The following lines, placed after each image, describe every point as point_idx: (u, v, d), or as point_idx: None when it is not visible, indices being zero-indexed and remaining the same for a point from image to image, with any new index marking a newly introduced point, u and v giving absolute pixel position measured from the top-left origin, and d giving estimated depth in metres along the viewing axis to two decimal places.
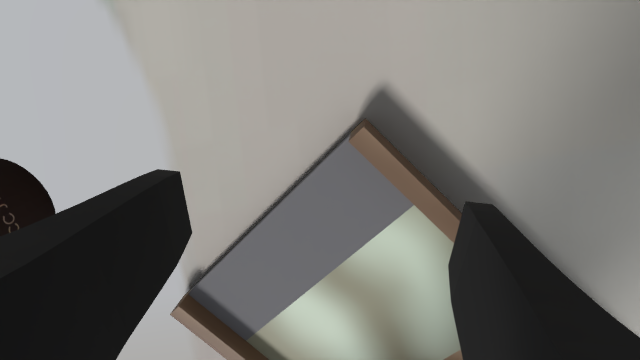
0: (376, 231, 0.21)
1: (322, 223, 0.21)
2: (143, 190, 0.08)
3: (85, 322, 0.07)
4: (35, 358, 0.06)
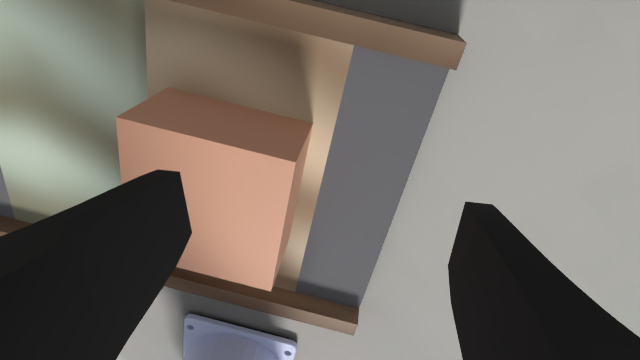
0: None
1: None
2: (143, 191, 0.08)
3: (85, 322, 0.07)
4: (35, 358, 0.06)
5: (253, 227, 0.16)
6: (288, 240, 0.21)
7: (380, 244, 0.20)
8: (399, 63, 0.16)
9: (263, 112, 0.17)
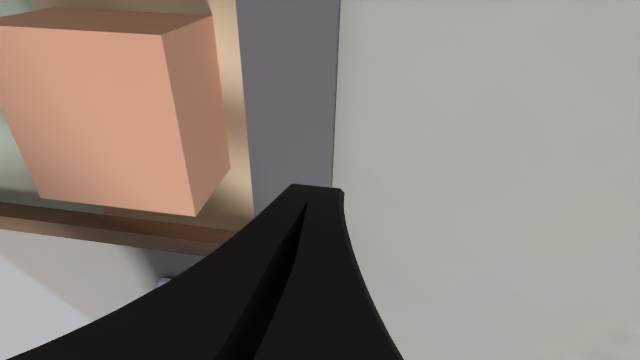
0: None
1: None
2: (301, 208, 0.08)
3: None
4: None
5: (148, 136, 0.14)
6: (228, 169, 0.18)
7: (328, 156, 0.18)
8: None
9: (155, 13, 0.15)
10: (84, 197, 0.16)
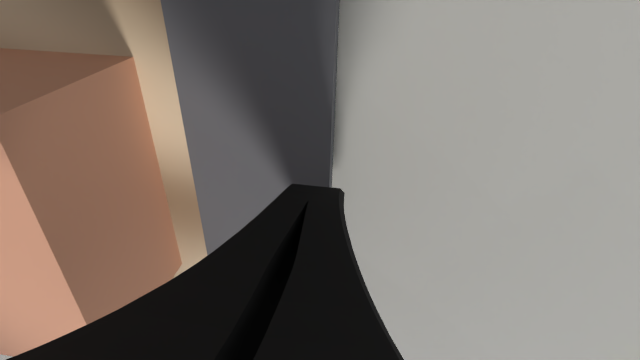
0: None
1: None
2: (301, 208, 0.08)
3: None
4: None
5: (12, 269, 0.08)
6: (177, 268, 0.13)
7: None
8: None
9: (44, 52, 0.10)
10: None
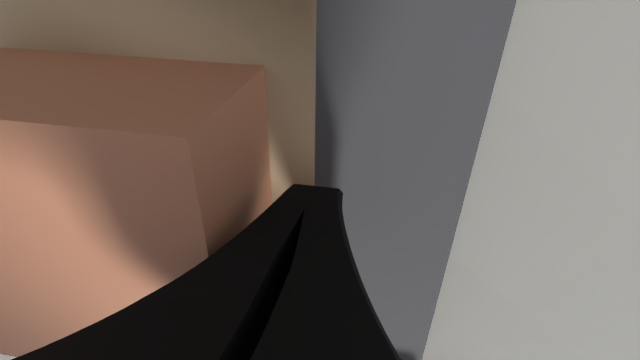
0: None
1: None
2: (303, 209, 0.08)
3: None
4: None
5: None
6: None
7: (439, 271, 0.11)
8: None
9: (168, 61, 0.09)
10: None
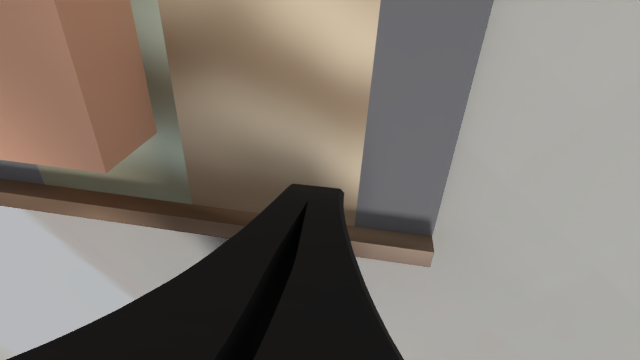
0: None
1: None
2: (301, 208, 0.08)
3: None
4: None
5: (50, 88, 0.14)
6: (153, 133, 0.19)
7: (451, 147, 0.17)
8: None
9: None
10: None
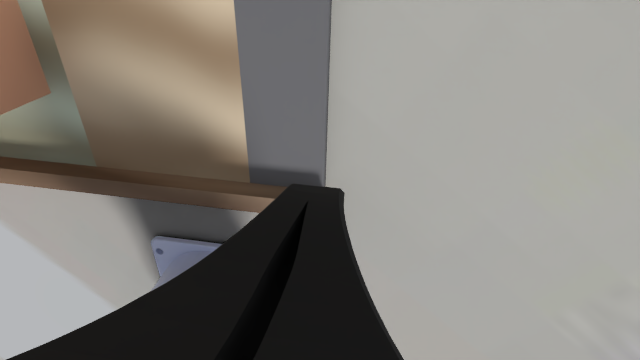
0: None
1: None
2: (301, 208, 0.08)
3: None
4: None
5: None
6: (45, 93, 0.19)
7: (323, 95, 0.17)
8: None
9: None
10: None
